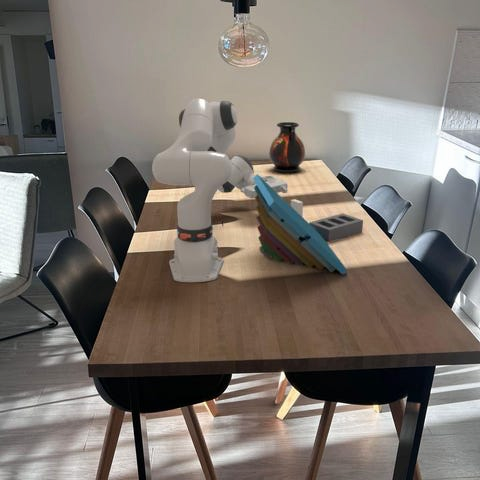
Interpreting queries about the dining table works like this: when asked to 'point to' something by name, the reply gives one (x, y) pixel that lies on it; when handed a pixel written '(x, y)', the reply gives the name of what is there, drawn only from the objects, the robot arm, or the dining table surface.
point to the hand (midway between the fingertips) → (277, 193)
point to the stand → (337, 227)
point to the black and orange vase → (287, 149)
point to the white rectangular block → (297, 206)
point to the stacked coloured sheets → (290, 233)
